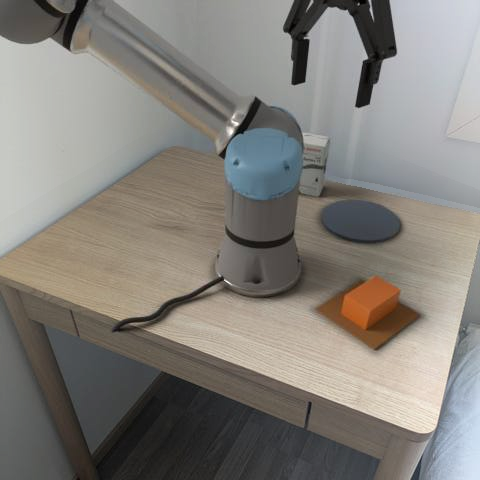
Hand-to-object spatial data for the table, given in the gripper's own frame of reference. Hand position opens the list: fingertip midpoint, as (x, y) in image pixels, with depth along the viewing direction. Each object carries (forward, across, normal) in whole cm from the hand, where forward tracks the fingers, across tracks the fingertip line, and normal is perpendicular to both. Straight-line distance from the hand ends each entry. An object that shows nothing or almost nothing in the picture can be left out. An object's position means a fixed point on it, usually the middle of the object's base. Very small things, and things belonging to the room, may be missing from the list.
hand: (328, 94), depth 80 cm
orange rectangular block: (+26, -22, +10) cm, 36 cm away
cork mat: (+27, -22, +10) cm, 36 cm away
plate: (+27, -3, -12) cm, 29 cm away
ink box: (+27, +14, -13) cm, 33 cm away
